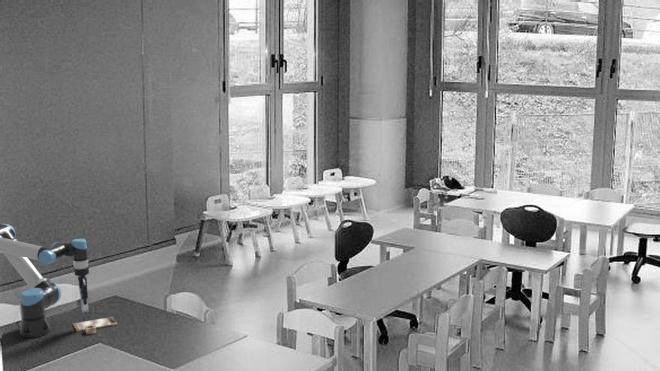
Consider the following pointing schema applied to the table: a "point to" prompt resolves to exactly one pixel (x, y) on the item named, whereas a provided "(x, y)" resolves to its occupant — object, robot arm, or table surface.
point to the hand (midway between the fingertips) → (84, 308)
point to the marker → (81, 303)
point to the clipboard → (95, 323)
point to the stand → (90, 329)
